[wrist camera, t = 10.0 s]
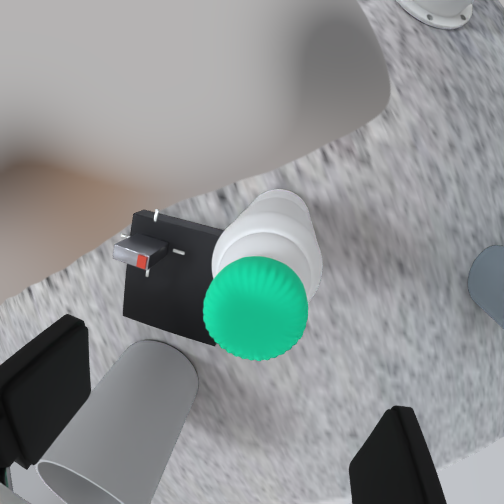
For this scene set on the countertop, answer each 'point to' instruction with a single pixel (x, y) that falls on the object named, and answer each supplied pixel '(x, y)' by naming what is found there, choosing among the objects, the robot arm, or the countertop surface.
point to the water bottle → (263, 278)
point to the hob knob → (140, 251)
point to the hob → (172, 276)
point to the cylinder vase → (123, 429)
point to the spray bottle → (489, 282)
